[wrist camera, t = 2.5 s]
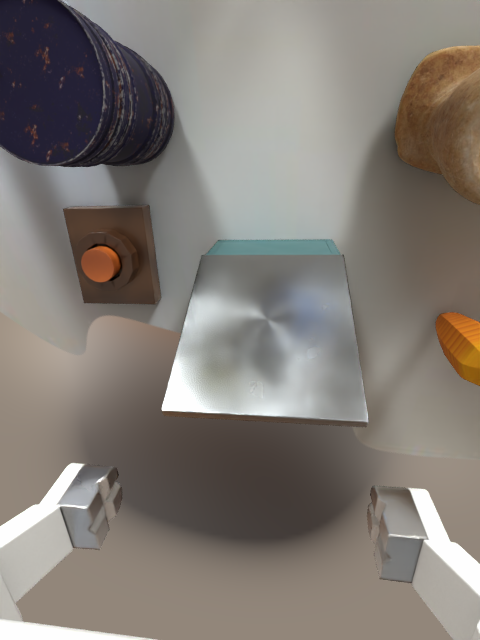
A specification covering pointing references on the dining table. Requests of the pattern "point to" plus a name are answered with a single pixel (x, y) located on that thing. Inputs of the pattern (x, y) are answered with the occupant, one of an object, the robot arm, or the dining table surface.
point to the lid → (269, 343)
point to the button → (101, 263)
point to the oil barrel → (76, 91)
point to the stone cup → (444, 118)
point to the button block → (127, 241)
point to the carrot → (460, 344)
